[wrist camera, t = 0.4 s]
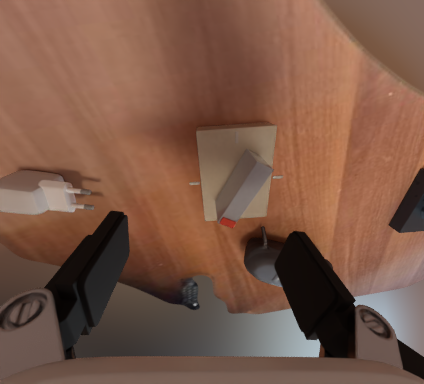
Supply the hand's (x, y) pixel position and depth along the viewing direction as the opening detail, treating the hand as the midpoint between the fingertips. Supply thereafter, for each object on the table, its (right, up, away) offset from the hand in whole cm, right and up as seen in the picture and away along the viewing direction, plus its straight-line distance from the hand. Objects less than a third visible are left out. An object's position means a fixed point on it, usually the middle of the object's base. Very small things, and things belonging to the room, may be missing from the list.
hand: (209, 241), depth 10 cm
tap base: (+3, +6, +17) cm, 19 cm away
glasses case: (+14, -9, +26) cm, 31 cm away
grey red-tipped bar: (+4, +4, +15) cm, 16 cm away
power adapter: (-23, +4, +17) cm, 29 cm away
